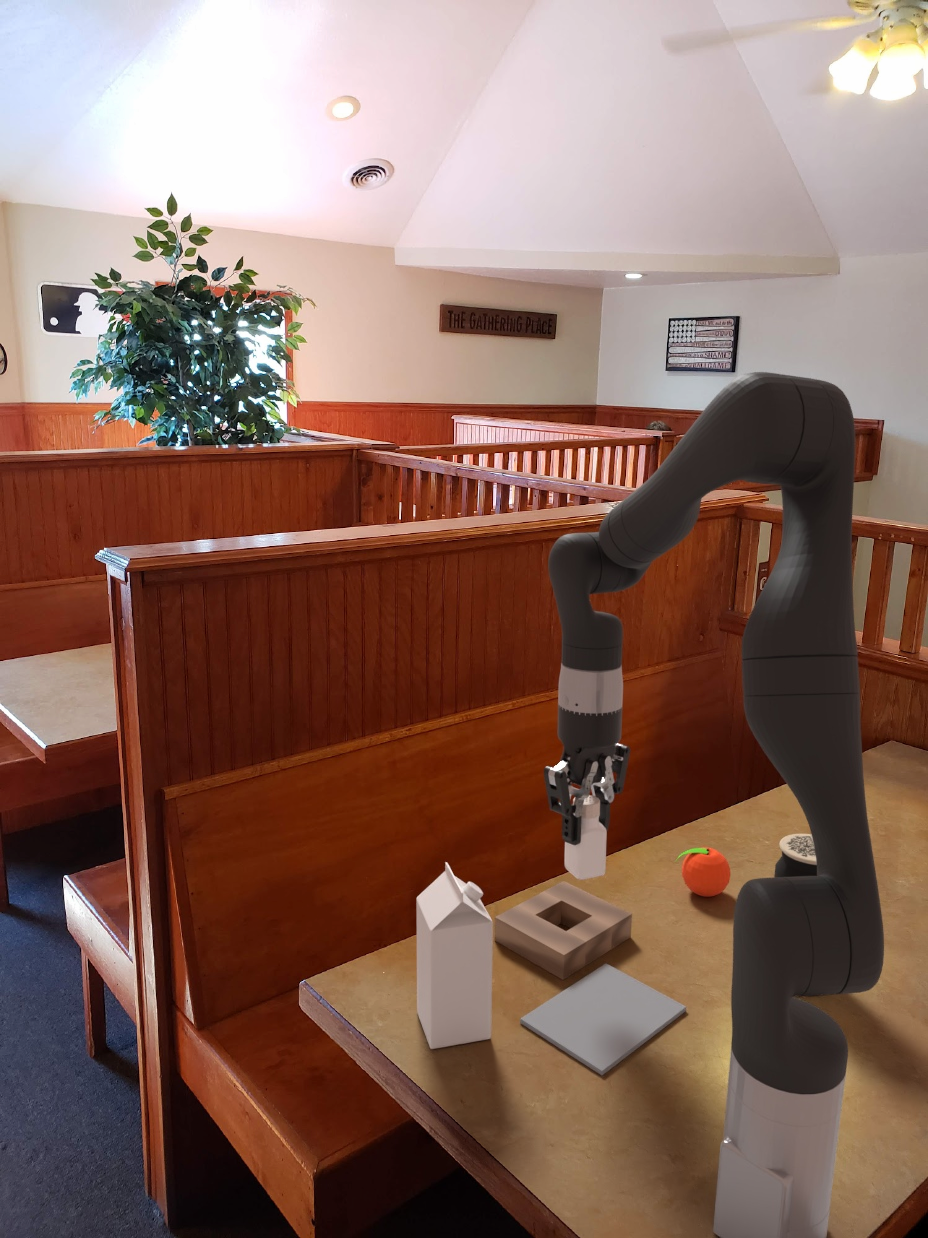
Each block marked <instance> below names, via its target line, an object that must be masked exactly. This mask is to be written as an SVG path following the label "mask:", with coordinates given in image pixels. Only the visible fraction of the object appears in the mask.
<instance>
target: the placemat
mask: <svg viewBox="0 0 928 1238" xmlns="http://www.w3.org/2000/svg"><path fill="white" fill-rule="evenodd" d="M686 1012H687V1006H686V1005H685V1004H682V1003H680V1002H678V1001H677V1000H675V999H673V998H672V997H669V996H668V995H665V994H664V993H661V992H660V991H658V990H656V989H654V988H652V987H651V986H649V985H647V984H645V983H643V982H641V981H639V980H637V979H636V978H634V977H632V976H631V975H629V974H627V973H625V972H623V971H622V970H619V969H618V968H616V967H614V966H611V965H610V964H607V963H604V964H603V965H601V966H599V967H598V968H596V969H595V970H593V971H592V972H590V973H588V974H586V976H584V977H583V978H581V979H579V980H578V981H576V982H574V983H573V984H572V985H570V986H569V987H567V988H565V989H564V990H562V991H561V992H559V993H557V994H556V995H555V996H553V997H552V998H550V999H548V1000H547V1001H545V1002H544V1003H542V1004H541V1005H539V1006H537V1007H536V1008H534V1009H533V1010H531V1011H530V1012H528V1013H527V1014H525V1015H524V1016H522V1017H521V1018H520V1020H519V1021H520V1022H519V1023H520V1024H521V1025H522V1026H524V1027H525V1028H527V1029H529V1030H530V1031H532V1032H534V1033H535V1034H537V1035H538V1036H540V1038H542V1039H544V1040H546V1041H547V1042H549V1043H550V1044H552V1045H554V1046H555V1047H557V1048H558V1049H559V1050H561V1051H563V1052H565V1053H566V1054H567V1055H569V1056H571V1057H572V1058H574V1059H575V1060H576V1061H579V1062H580V1063H582V1064H583V1065H584V1066H586V1067H587V1068H589V1069H591V1070H593V1071H594V1072H596V1073H597V1074H599V1076H604V1075H605V1074H606V1073H608V1072H609V1071H611V1069H613V1068H614V1067H615V1066H617V1065H618V1064H619V1063H620V1062H622V1061H623V1060H624V1059H626V1058H627V1057H628V1056H630V1055H631V1054H632V1053H634V1052H635V1051H636V1050H638V1049H639V1048H640V1047H641V1046H642V1045H644V1044H645V1043H647V1042H648V1041H649V1040H650V1039H651V1038H653V1037H654V1036H655V1035H657V1034H658V1033H659V1032H661V1031H662V1030H664V1029H665V1028H666V1027H667V1026H669V1025H670V1024H671V1023H673V1022H674V1021H675V1020H676V1019H678V1018H679V1017H680V1016H682V1015H683V1014H684V1013H686Z"/></svg>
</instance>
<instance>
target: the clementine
mask: <svg viewBox="0 0 928 1238" xmlns="http://www.w3.org/2000/svg"><path fill="white" fill-rule="evenodd" d="M684 855H686V857H685V858H684V859H683V863H682V867H681V875H682V878H683V881H684V884H685V885H686V887H687V888H688V889H689V890H690V891H691V892H692V893H694V894H695V895H698V896H700V897H709V898H710V897H714V896H717V895H719V894H721V893H723V892H724V891H725V889H726V888H727V887H728V885H729V883H730V881H731V875H732V874H731V867H730V864H729V862H728V860H727V858H726V857H725V856H724V855H723V854H722V853H721V852H719V851H718V850H717V849H714V848H712V847H711V848H710V847H705V846H704V847H695V848H694V847H693V848H691V849H688V850H685V851H684V852H682V853H680V855H678V857H677V858H676V860H675V861H674V863H676V862H677V860H679V858H681V857H682V856H684Z"/></svg>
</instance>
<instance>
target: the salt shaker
mask: <svg viewBox="0 0 928 1238" xmlns="http://www.w3.org/2000/svg"><path fill="white" fill-rule="evenodd" d="M574 801H575V797H574V798H573V799H572V805H574ZM580 815H581V816H582V817H581V842H580V843H579V844H577V845H572V844H569V843H567V842H565V841H564V868H565V870H567V871H568V873H570V874H571V875H572V876H573V877H575V879H577V880H588V879H592V878H596V877H603V876H604V875H605V874H606V864H607V863H606V860H607V831H606V828H605V827H604V826H603V825H602V824H601V823H600V822H599V815H600V800H599V799H598V798H597V797H595V796H593V795H590V794H589V796H588V798H585V799H584V803H583V807H582V811H581V814H580Z"/></svg>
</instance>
